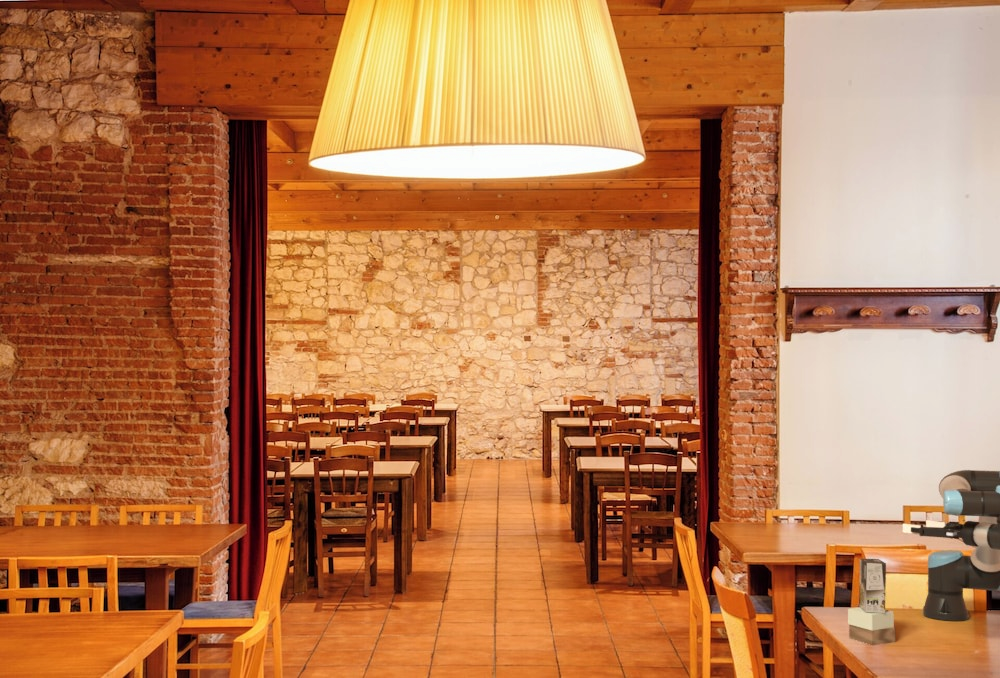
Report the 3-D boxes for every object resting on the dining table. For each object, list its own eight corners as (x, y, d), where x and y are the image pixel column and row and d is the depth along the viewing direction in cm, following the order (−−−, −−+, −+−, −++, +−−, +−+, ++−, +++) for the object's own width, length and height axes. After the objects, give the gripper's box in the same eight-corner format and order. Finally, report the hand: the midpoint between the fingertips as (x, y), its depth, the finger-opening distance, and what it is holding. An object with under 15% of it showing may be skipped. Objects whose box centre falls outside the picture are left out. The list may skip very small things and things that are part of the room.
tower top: (869, 620, 348) (869, 605, 348) (893, 627, 339) (893, 611, 339) (848, 624, 343) (847, 608, 343) (872, 630, 334) (872, 614, 334)
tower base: (871, 636, 347) (871, 621, 347) (895, 643, 338) (895, 627, 338) (849, 639, 343) (849, 624, 343) (872, 646, 334) (872, 630, 334)
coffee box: (886, 613, 336) (886, 563, 337) (865, 612, 337) (866, 562, 337) (878, 607, 345) (879, 558, 346) (858, 606, 346) (859, 557, 347)
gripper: (957, 550, 310) (893, 541, 327) (999, 542, 326) (936, 534, 342) (957, 525, 311) (893, 517, 328) (999, 518, 326) (936, 511, 343)
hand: (915, 526), depth 335 cm, fingers open, 13 cm apart
